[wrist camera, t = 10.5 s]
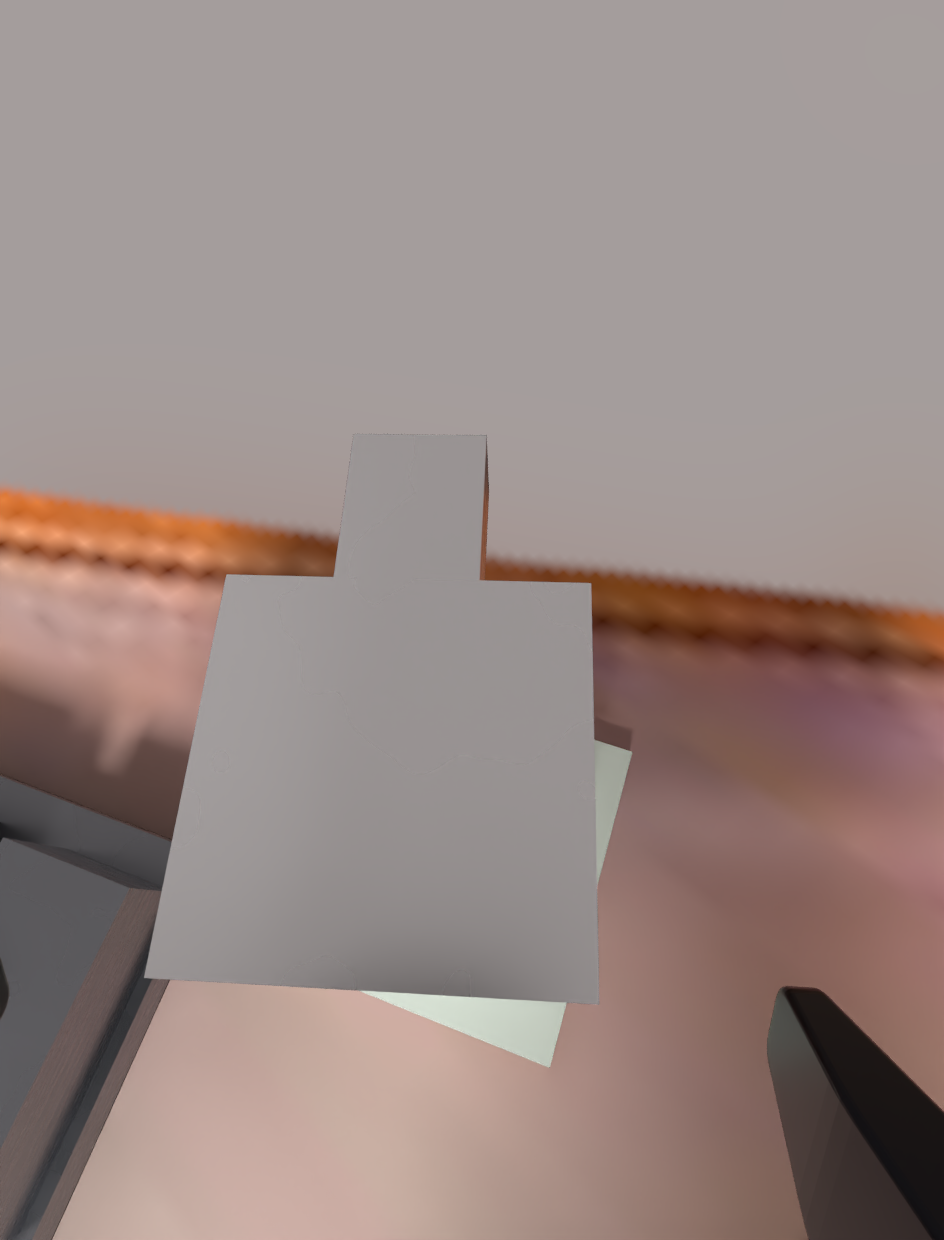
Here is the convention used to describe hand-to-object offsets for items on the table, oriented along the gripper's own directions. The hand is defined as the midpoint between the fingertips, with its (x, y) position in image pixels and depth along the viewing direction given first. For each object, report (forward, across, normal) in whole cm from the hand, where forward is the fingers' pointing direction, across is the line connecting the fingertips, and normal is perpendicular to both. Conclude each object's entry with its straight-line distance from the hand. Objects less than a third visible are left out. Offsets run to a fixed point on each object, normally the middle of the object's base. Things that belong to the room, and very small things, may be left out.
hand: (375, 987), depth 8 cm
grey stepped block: (+9, 0, +4) cm, 10 cm away
